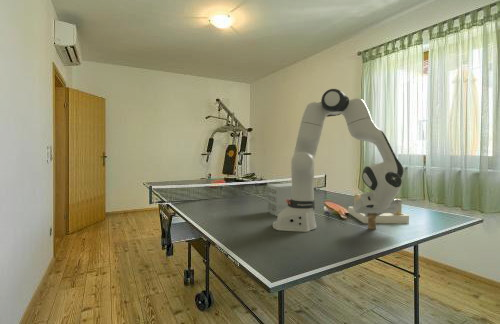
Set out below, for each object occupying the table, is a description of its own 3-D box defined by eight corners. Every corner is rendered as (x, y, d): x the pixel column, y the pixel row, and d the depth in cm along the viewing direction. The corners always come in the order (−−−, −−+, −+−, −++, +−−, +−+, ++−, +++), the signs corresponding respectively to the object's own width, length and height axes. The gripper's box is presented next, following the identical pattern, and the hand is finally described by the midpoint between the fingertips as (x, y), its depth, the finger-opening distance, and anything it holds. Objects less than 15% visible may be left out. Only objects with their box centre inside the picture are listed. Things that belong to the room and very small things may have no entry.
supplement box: (291, 209, 182) (291, 182, 181) (301, 214, 169) (302, 185, 168) (267, 212, 176) (267, 183, 175) (276, 216, 163) (276, 186, 162)
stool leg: (369, 229, 136) (370, 207, 136) (366, 227, 140) (367, 206, 139) (377, 229, 136) (377, 207, 136) (373, 227, 140) (374, 206, 139)
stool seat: (363, 223, 148) (364, 200, 147) (348, 212, 172) (348, 193, 171) (408, 223, 148) (409, 200, 147) (387, 212, 172) (387, 193, 171)
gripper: (401, 194, 130) (390, 210, 140) (357, 194, 130) (349, 210, 141) (406, 205, 126) (394, 220, 136) (361, 205, 126) (353, 221, 136)
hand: (371, 215), depth 138 cm, fingers closed on stool leg, 4 cm apart
